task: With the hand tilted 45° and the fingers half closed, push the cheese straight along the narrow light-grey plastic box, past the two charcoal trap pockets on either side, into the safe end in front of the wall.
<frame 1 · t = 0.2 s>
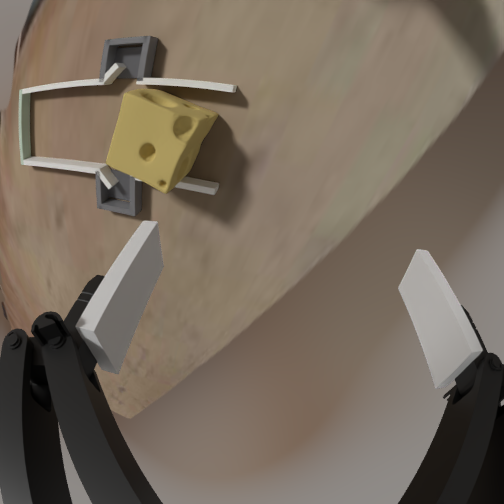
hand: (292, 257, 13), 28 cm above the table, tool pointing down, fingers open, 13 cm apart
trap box: (99, 124, 36), on the table
cheese: (175, 130, 37), on the table
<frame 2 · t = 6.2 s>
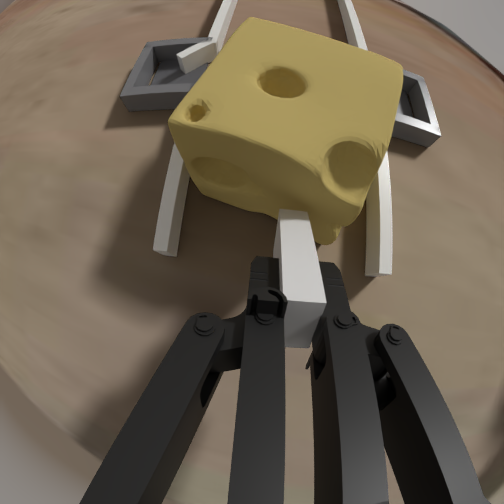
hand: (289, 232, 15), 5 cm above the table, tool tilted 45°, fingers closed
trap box: (288, 53, 23), on the table
cheese: (281, 163, 21), on the table, touching gripper
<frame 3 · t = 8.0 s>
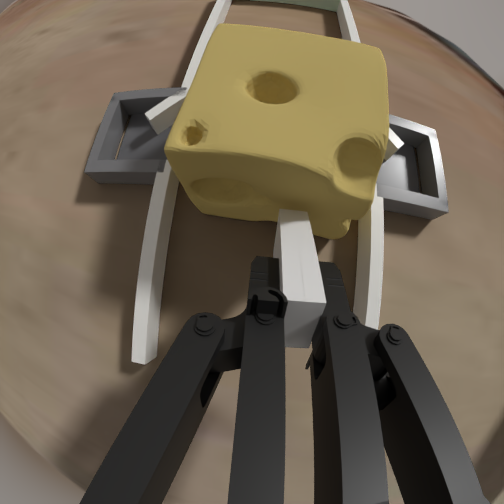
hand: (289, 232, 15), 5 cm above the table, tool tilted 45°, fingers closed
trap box: (277, 101, 22), on the table
cheese: (274, 166, 21), on the table, touching gripper
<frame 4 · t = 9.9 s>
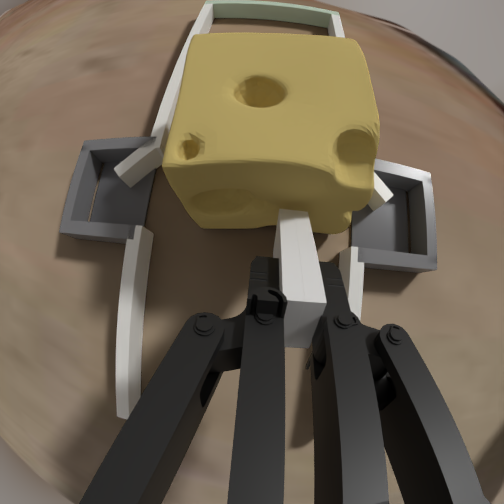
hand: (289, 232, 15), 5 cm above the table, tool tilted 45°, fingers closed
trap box: (256, 145, 21), on the table
cheese: (265, 171, 21), on the table, touching gripper
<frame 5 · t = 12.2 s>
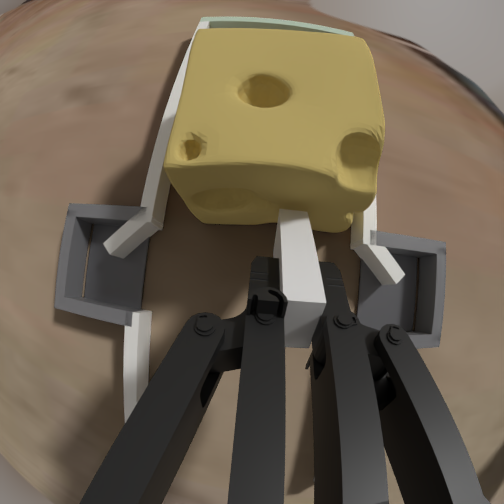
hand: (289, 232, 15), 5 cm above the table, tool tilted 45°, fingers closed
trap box: (259, 212, 20), on the table
cheese: (268, 166, 21), on the table, touching gripper
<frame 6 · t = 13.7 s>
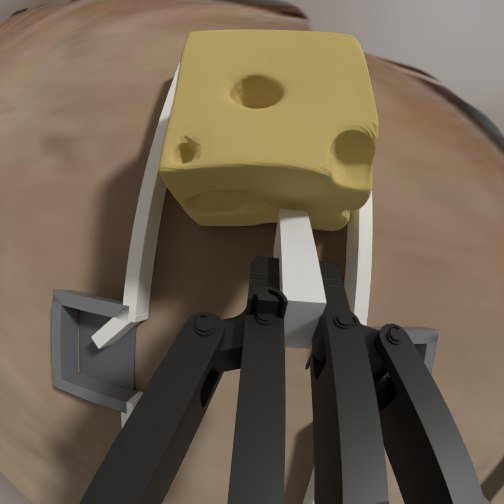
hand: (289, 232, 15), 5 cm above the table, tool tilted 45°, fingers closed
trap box: (245, 304, 19), on the table
cheese: (264, 167, 21), on the table, touching gripper
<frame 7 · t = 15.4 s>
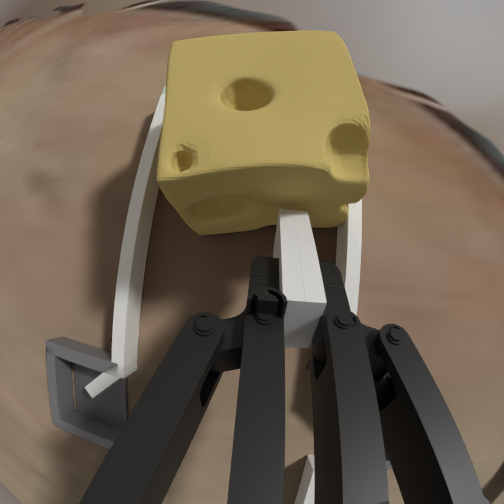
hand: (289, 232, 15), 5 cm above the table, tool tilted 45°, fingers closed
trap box: (229, 361, 19), on the table
cheese: (257, 171, 21), on the table, touching gripper, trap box
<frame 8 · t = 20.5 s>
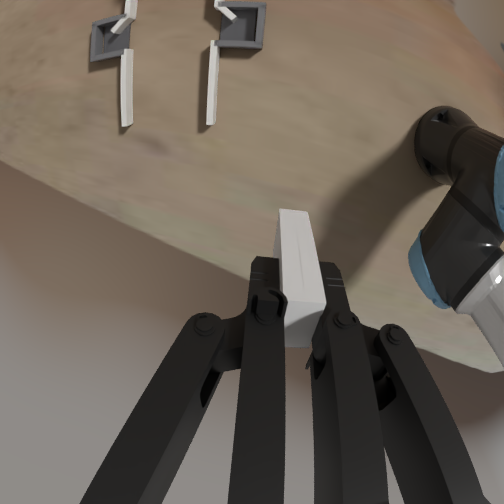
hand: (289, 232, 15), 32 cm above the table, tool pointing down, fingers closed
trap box: (175, 3, 28), on the table
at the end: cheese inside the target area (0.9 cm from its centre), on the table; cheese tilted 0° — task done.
